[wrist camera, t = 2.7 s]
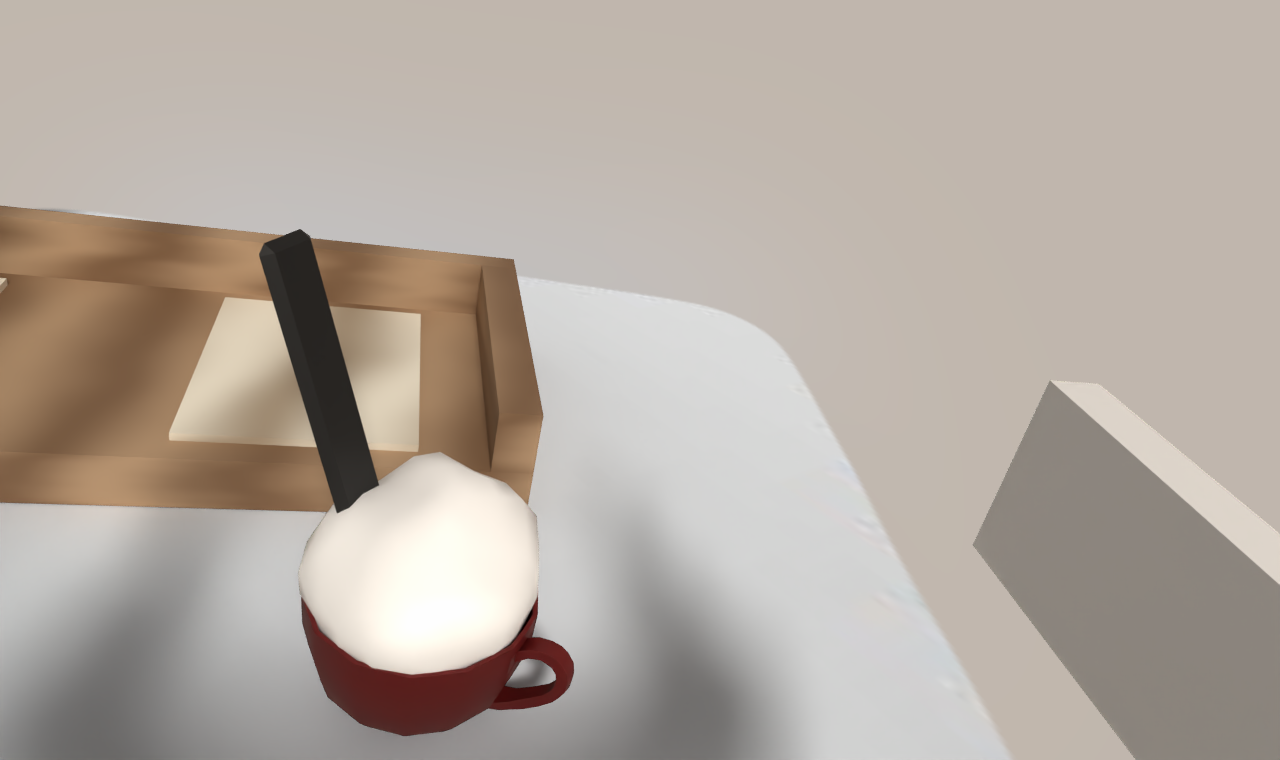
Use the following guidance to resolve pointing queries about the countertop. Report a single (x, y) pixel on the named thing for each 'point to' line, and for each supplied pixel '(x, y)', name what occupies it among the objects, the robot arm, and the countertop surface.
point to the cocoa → (405, 552)
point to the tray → (241, 365)
